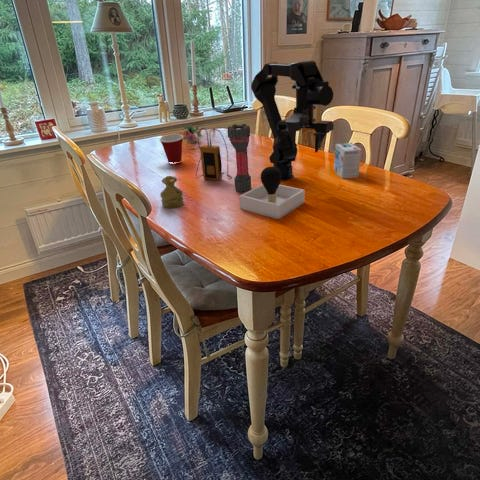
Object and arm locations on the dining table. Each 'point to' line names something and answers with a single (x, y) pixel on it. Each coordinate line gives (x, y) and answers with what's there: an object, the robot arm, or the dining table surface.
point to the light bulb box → (347, 160)
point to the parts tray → (284, 203)
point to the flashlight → (240, 155)
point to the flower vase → (191, 134)
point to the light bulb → (271, 181)
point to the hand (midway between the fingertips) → (304, 151)
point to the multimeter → (211, 160)
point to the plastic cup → (172, 147)
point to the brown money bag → (171, 194)
